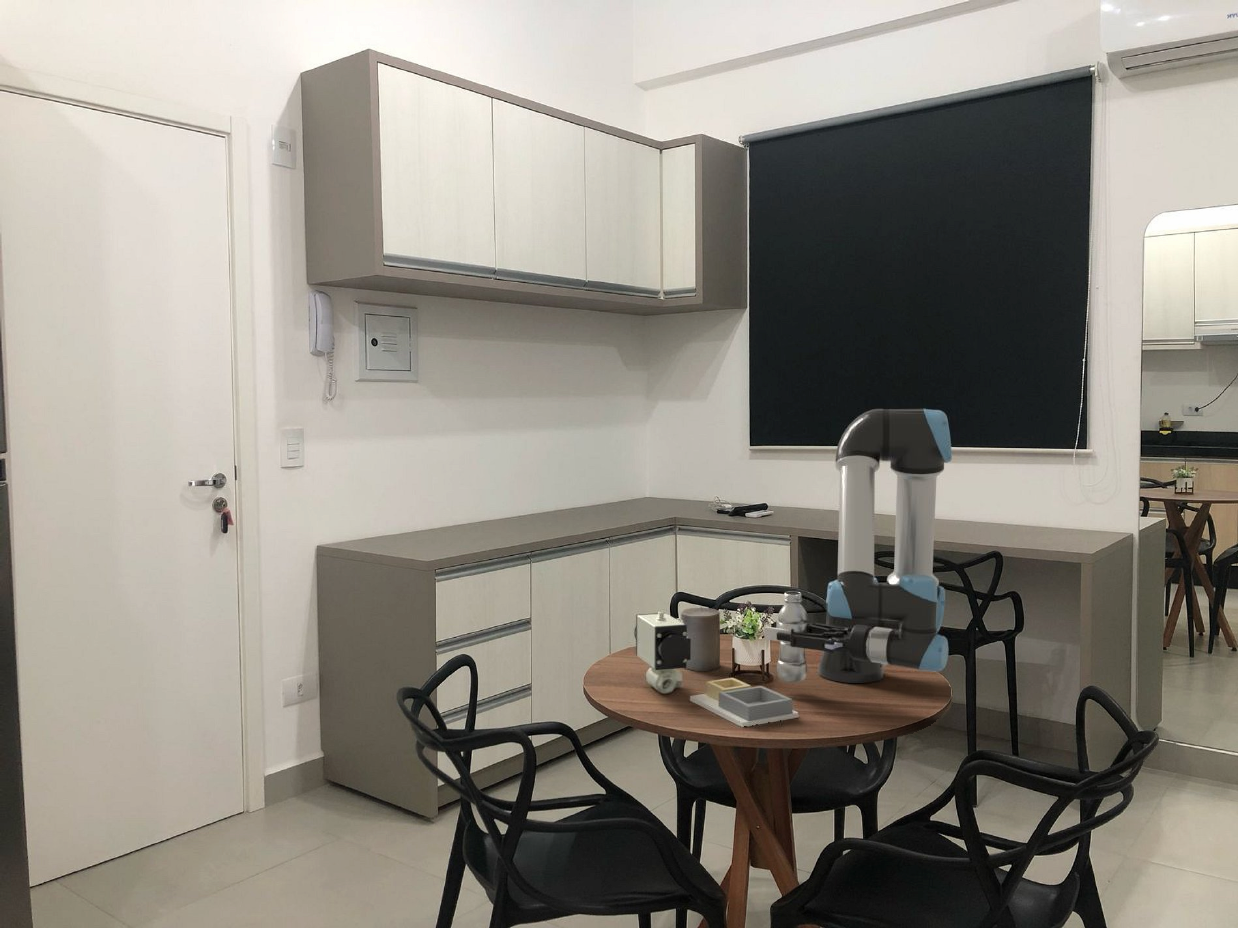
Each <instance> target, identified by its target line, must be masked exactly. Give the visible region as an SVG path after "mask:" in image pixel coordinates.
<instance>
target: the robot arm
mask: <svg viewBox="0 0 1238 928" xmlns="http://www.w3.org/2000/svg"><path fill="white" fill-rule="evenodd" d="M951 442H952V441H951V433H950V427H949V421H948V417H947V414H946V413H945V412H944V411H942V410H940V409H928V408H927V409H926V408H901V409H900V408H898V409H894V408H893V409H884V408H875V409H874V408H873V409H871V410H868V411H865V412H863V413H862V414H860V415H857V417H856V418H855V419H854V420H853V421H852V422H850V424H849V425H848V426H847V428H845V430H844V432H843V433H842V435H841V438H840V440H839V442H838V444H837V448H836V450H835V451H836V452H835V465H834V466H835V468H836V470H837V471H838V472H839V500H838V501H839V502H838V505H839V508H838V545H837V548H838V549H837V551H838V552H837V579H835V580H833V581H830V582H829V583H828V584H827V585H828V586H827V591H826V595H827V596H826V600H825V603H826V623H819V622H815V621H814V622H811V623H807V628H806V633H798V632H794V629H791V630H786V629H779V622H778V620H776V626H775V627H771V626H764V633H763V636H764V637H763V639H764V640H767V641H774V642H779V643H780V642H786V643H790V646H791V647H798V648H805V650H815V651H822V653H821V657H820V660H819V662H818V666H817V668H818V669H817V672H818V673H817V674H818V675H819V676H820V677H822V678H824V679H827V680H830V681H834V682H835V681H836V682H840V683H850V684H866V683H867V684H868V683H874V682H878V681H880V680H882V679H883V678H884V667H887V666H888V665H889V666H896V667H901V668H907V669H913V670H916V671H917V670H918V671H925V672H926V671H927V672H937V673H938V672H941V671H943V670H944V669H945V667H946V665H947V662H948V659H949V658H948V657H949V642H948V639H947V637H945V636H944V635H941V634H938V633H939V631H940V629H941V626H942V622H943V618H944V612H945V602H946V591H945V588H944V587H943V586H941V585H940V583H939V582H940V581H939V578H937V577H936V576H935V575H934V574H933V565H934V548H935V547H934V546H935V545H934V544H935V543H934V542H935V525H936V524H935V522H936V519H935V517H936V501H937V500H936V497H937V479H938V476H940V474H942V473H943V472H944V471H945V464H947V463H950V462H951V461H952V459H953V458H952V443H951ZM880 461H883V462H890V470H891V471H892V472H894V473H895V474H896V497H895V498H896V503H895V504H896V505H895V527H894V529H895V531H894V532H895V533H894V534H895V535H894V536H895V537H894V567H893V568H894V569H893V572H891V573H890V574H889V575H887V578H886V583H879V581H878V579H877V578H876V577H875V503H876V502H875V497H876V496H875V495H876V494H875V493H876V492H875V489H876V488H875V487H876V483H875V482H876V479H875V478H876V477H875V474H876V472H877V471H878V470H879V469H880Z"/></svg>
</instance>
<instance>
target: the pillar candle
mask: <svg viewBox="0 0 1238 928" xmlns="http://www.w3.org/2000/svg"><path fill="white" fill-rule="evenodd" d="M679 613H680V620H683V622H684V624H685V625H687V637H688V638H690V639H691V659H690V660H687V665H686V668H685V669H686V670H690V671H693V670H694V671H695V672H707V671H713V670H717V669H720V667H721V664H720V663H721V662H720V661H721V655H720V654H721V626H720V625H721V624H720V623H721V620H720V619H721V618H720V617H721V616H720V615H721V614H720V611H719V610H718V609H715V608H710V607H689V608H685V609H682V610H681V611H680V612H679Z"/></svg>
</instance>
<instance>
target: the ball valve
mask: <svg viewBox="0 0 1238 928" xmlns="http://www.w3.org/2000/svg"><path fill="white" fill-rule="evenodd" d="M633 632H634V633H633V635H634V638H635V639H634V640H635V656H637V657H638V658H639V659H641V660H643V661H644V662H645V663H646V664H647V665H649V666H650V667H649V668H648V670H647V671H646V674H645V676H646V681H647V683H648V684H649V685H650V686H651V687H653V688H654V689H655V690H656V691H658V693H661V694H664V695H665V694H670V693H672V692H673V691H674V690H675V689H676V688H680V687H681V686H682V684H683V674H682V672H681V670H679V669H686V665H687V660H690V659H691V639H690V638H688V637H687V625H685V624H684V622H683V620H681V618H675V617H673V616H671V615H670V614H668V613H666V612H663V611H658V612H657V613H655V612H654V613H642V614H641V613H640V614H636V615H635V627H634V631H633Z"/></svg>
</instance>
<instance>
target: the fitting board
mask: <svg viewBox="0 0 1238 928" xmlns="http://www.w3.org/2000/svg"><path fill="white" fill-rule="evenodd" d="M689 701H690V702H692V703H694V704H696V705H698V706H699V707H702V708H704V709H706V710H707V711H710V712H711V713H713V714H715V715H717V716H719V717H722V718H723V719H725V720H727V721H730V722H731V723H733V724H735V725H737V726H739V727H740V726H741V727H740V728H745V727H744V726H747V727H751V726H752V725H753V726H756V724H758V725H764V724H768V722H770V723H774V722H779V721H780V720H781V721H786V720H790V719H791V720H793V719H795V718H799V712H798V711H796V710H793V709H794V705H793V703H794V702H793V699H792V698H790V697H789V696H786V695H784V694H782V693H779V692H777V691H774V690H773V689H769V688H767V687H765V686H763V685H757V686H752V685H750V684H748V683H746V682H744V681H741V680H739V679H737V678H735V677H728V678H720V679H716V680H709V681H706V682H705V693H702V694H694V695H689Z"/></svg>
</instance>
